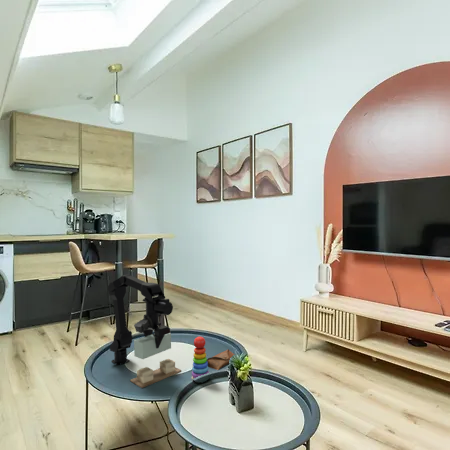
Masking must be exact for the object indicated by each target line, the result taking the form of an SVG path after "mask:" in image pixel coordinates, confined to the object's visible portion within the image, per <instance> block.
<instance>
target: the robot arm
mask: <svg viewBox="0 0 450 450" xmlns="http://www.w3.org/2000/svg"><path fill="white" fill-rule="evenodd" d="M128 287H131V288H132V289H135V290H137V291H138V292H140V294H141V296H143V297H144V298H143V299H142V300H141V301H142V303H145V314H143V319H140V320H139V321H137V322H136V323H135V324H133V326H134V329H135V331H136V333H139V334H143V335H144V337H145V336H148V335H151V334H153V336H154V337H155V344H156V348H159V346H160V344H161V341H162V339H163V337H164V335H166V334H169V333H171V328H170V327H169V326H168V325H162V322H160V317H161V316H162V315H165V316H169V315H172V312H173V310H174V306H173V303H172V302H170V299H169V298H166V296H165V293H164V292H163V290H162V287H161V286H160V284H159V283H156V282H146V281H144V280H142V279H139V278H137V277H135V276H133V275H132V274H124V275H120V276H119V278H117V279H115V280H113V281H112V282H110V283H109V284H108V285H107V291H108V295H109V297H110V298H111V300H112V301H113V309H114V320H115V321H114V322H115V328H116V329H115V332H114V334H113V341H112V342H111V344H110V345H109V350H110V352H113V354H114V355H113V356H114V357H113V358H114V359H112V360H111V363H113V364H115V365H117V366H119V365H120V366H121V365H122V364H126V363H128V362H130V359H128V354H127V349H129V348H131V345H132V343H133V333H132V332H133V331H132V330H129V328H128V325H127V317H126V307H125V297H126V294H127V288H128ZM154 333H155V334H154Z"/></svg>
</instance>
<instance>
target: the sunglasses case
mask: <svg viewBox="0 0 450 450" xmlns="http://www.w3.org/2000/svg"><path fill="white" fill-rule="evenodd" d="M233 355H235V353H233V352H232V351H230V349H229V348H228V349H226V350H223V351H222V352H219V353H218V354H215V355H214V356H211V357H209V358H207V362H208V365H207V366H208V369H212V370H215V371H219V370H221V369H222V368H224V367H225V366H229V364H230V363H229V360H230V358H231V357H232V356H233Z"/></svg>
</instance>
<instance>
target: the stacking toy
mask: <svg viewBox="0 0 450 450" xmlns="http://www.w3.org/2000/svg"><path fill="white" fill-rule="evenodd" d="M193 345H194V347H195V348H194V349H193V351H194V353H193V359H192V360H193V362H192V371H191V380H192V379H194V378H196V377H198V376H201V375H204V374H207V373H209V374H210V371H209V367H208V366H207V365H208V362H207V359H208V358H207V353H206V350H207V349H206V348H205V346H206V339H205V338H204V337H203V336H197V337H195V338H194V340H193Z"/></svg>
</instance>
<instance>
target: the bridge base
mask: <svg viewBox="0 0 450 450" xmlns="http://www.w3.org/2000/svg"><path fill="white" fill-rule="evenodd" d="M180 372H182V370H181V369H180V368H177V367H176V361H175V360H173V359H171V358H166V359H164V360H161V361H159V368H157V369H151V368H149V367H148V366H145V367H142V368H140V369H138V370H137V369H136V377H135V378H132V379H129V380H130V382H131V383H133V384H134V385H136V386H137V387H139V388H140V389H143V388H146V387H149V386H151V385H153V384H155V383H157V382H160V381H163V380H164V379H167V378H170V377H171V376H174V375H176V374H178V373H180Z"/></svg>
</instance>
